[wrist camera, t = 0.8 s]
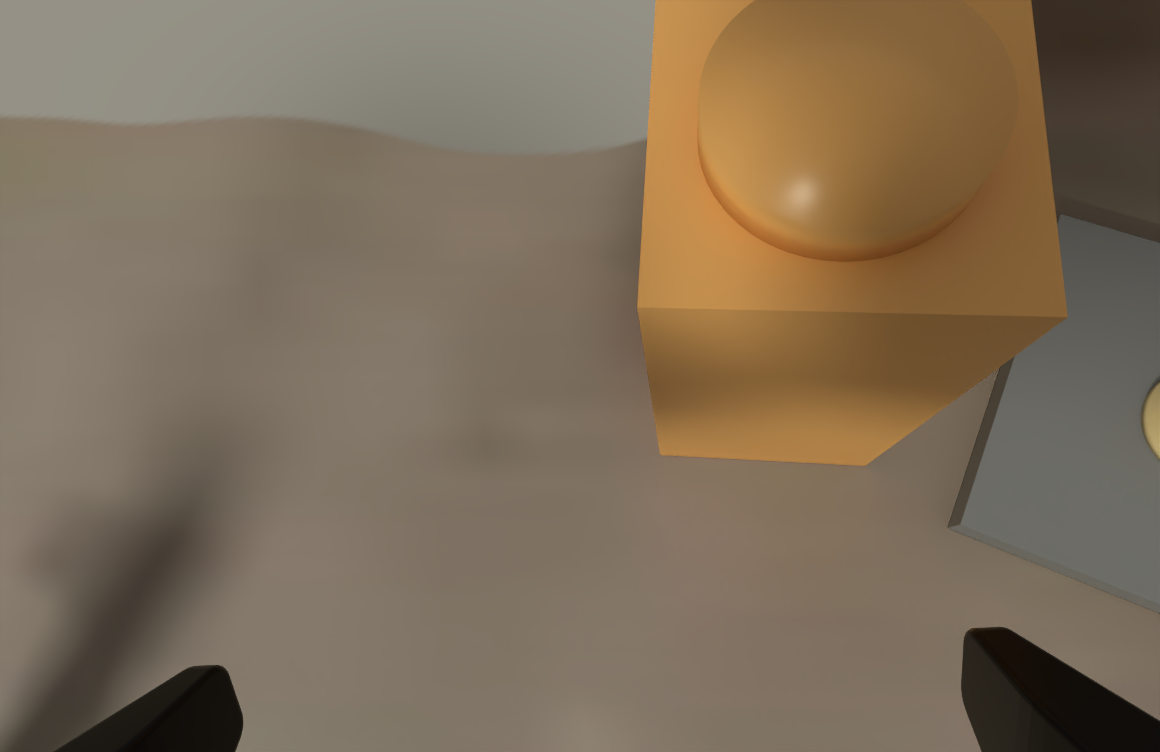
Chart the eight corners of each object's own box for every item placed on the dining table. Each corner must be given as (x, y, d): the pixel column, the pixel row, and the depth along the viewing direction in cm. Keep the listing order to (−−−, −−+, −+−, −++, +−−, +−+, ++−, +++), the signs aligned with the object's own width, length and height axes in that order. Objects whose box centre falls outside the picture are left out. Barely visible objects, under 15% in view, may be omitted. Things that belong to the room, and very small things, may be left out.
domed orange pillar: (865, 465, 22) (1107, 288, 9) (660, 455, 23) (632, 280, 10) (859, 278, 23) (1057, -83, 11) (668, 275, 24) (654, -63, 12)
